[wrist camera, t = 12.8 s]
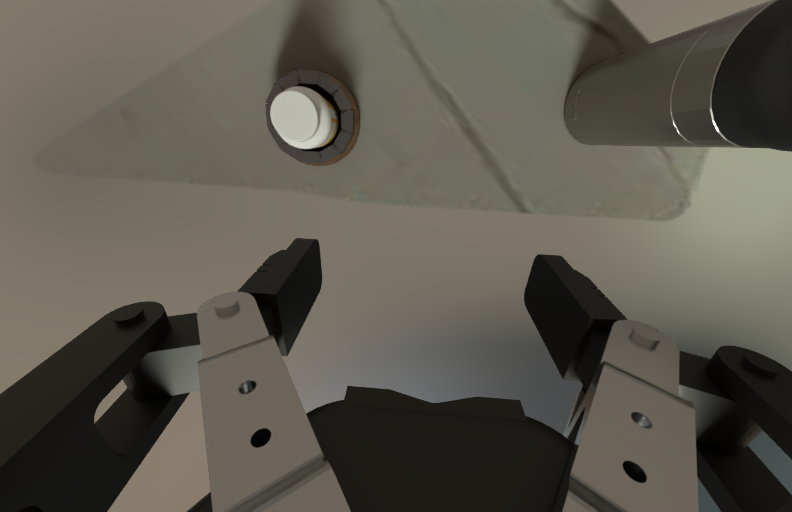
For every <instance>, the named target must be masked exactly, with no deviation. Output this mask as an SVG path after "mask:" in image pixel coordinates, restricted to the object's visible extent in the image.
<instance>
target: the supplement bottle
mask: <svg viewBox="0 0 792 512" xmlns="http://www.w3.org/2000/svg"><path fill="white" fill-rule="evenodd" d="M270 116H271V121H272V124H273V126H274V128H275V129H276V131H277V132H278V134H279V135H280V136H281V138H282V139H283V140H284V141H285V142H287V143H288V144H290V145H291V146H293V147H296V148H300V149H312V148H318V147H323V146H326V145H328V144H330V143H331V142H332V141H333V140H334V139H335V137H336V136H337V134H338V131H339V117H338V114H337V112H336V110H335V108H334V107H333V105H332V104H331V103H330V102H329V101H327V100H326V99H325V98H323V97H322V96H321V95H320V94H318V93H317V92H315V91H313V90H312V89H309V88H307V87H302V86H295V87H290V88H288V89H286V90H284V91H283V92H281V93H280V94H278V95H277V96H276V97H275V99H274V100H273V102H272V105H271V109H270Z"/></svg>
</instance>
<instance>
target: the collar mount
mask: <svg viewBox="0 0 792 512" xmlns="http://www.w3.org/2000/svg"><path fill="white" fill-rule="evenodd" d="M276 81H277V82H278V83H276V82H275V83H274V86H273V88H272V90H271V92H270V94H269V96H268V99H267V101H266V103H268V104H266V115H267V127H269V129H268V130H269V131H270V133H271V135H272V136H273V138H274V139H275V141H276V143H277V144H278V146H279V148H280V149H282V151H284V152H285V153H287V154H288V155H290V156H292V157H293V158H295V159H296V160H298V161H300V162H303V163H305V164H309V165H313V166H326V165H330V164H333V163H336V162H338V161H340V160H341V159H343V158H344V157H345V156H347V155H348V154H349V152H350V151H351V150H352V149H353V147H354V145H355V143H356V141H357V138H358V135H359V130H360V117H359V111H358V108H357V105H356V102H355V100H354V98H353V97H352V95H351V93H350V92H349V90H348V89H347V88H346V87H345V86H344V85H343V83H341V82H340V81H339V80H338V79H336V78H335V77H333V76H332V75H329V74H327V73H324V72H321V71H316V70H303V69H297V71H296V70H293V71H292V72H290V73H288V74H287V75H285V76H283V77H281V78H280V79H278V80H276ZM295 86H302V87H307V88H309V89H312V90H313V91H315V92H317V93H318V94H320V95H321V96H322V97H323V98H325V99H326V100H327V101H329V102H330V103H331V104H332V105H333V107H334V108H335V110H336V112H337V114H338V117H339V131H338V134H337V136H336V137H335V139H334V140H333V141H332V142H331V143H330V144H328V145H326V146H323V147H318V148H312V149H300V148H296V147H293V146H291V145H290V144H288V143H287V142H285V141H284V140H283V139H282V138H281V136H280V135H279V134H278V132H277V131H276V129H275V128H274V126H273V124H272V121H271V116H270V109H271V105H272V102H273V100H274V99H275V97H276V96H277V95H278V94H280V93H281V92H283V91H284V90H286V89H288V88H290V87H295Z"/></svg>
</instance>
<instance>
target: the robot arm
mask: <svg viewBox="0 0 792 512" xmlns="http://www.w3.org/2000/svg"><path fill="white" fill-rule="evenodd" d="M564 113H565V122H566V126H567V128H568V130H569V132H570V134H571V135H572V136H573V137H574V138H575V139H576V140H578V141H579V142H581V143H584V144H587V145H614V146H669V147H737V148H771V149H776V150H781V151H792V0H771V1H768V2H765V3H763V4H760V5H757V6H754V7H751V8H749V9H746V10H743V11H740V12H737V13H735V14H732V15H730V16H727V17H724V18H722V19H718V20H716V21H713V22H710V23H707V24H704V25H702V26H699V27H696V28H693V29H691V30H688V31H685V32H682V33H679V34H677V35H674V36H671V37H668V38H666V39H663V40H660V41H657V42H654V43H651V44H649V45H646V46H643V47H640V48H637V49H635V50H632V51H629V52H626V53H623V54H620V55H618V56H615V57H612V58H609V59H607V60H604V61H601V62H599V63H596V64H594V65H592V66H591V67H589V68H588V69H586V70H585V71H584V72H583V73H582V74H581V75H580V76H579V77H578V78H577V79H576V81H575V82H574V83H573V85H572V87H571V89H570V91H569V93H568V96H567V99H566V103H565V110H564ZM321 285H322V269H321V259H320V247H319V242H318V240H317V239H302V238H296V239H295V240H294V241H293V242H292V244H291V245H290V246H289V247H288V248H287V250H281V251H279V252H277V253H275V254H273V255H271V256H270V257H269V258H268V259H267V260H266V261H265V262H264V263H263V266H260V267H259V268H258V270H257V272H255V273H254V274H253V275H252V276H251V277H250V278H249V279H248V280H247V282H246V283H245V284H244V285H243V286H242V287H241V288H240V289H239V290H238V291H237V292H230V293H224V294H221V295H218V296H215V297H213V298H211V299H209V300H208V301H206V302H205V303H204V304H203V305H201V306H200V308H199V309H198V311H197V313H192V314H184V315H176V316H170V317H168V316H167V314H166V312H165V309H164V307H163V305H161V304H160V303H157V302H139V303H134V304H130V305H127V306H124V307H121V308H118V309H116V310H114V311H112V312H110V313H108V314H107V315H105V316H104V317H102V318H101V319H100V320H98V321H97V322H96V323H94V324H93V325H92V326H90V327H89V328H88V329H86V330H85V331H84V332H82V333H81V334H80V335H78V336H77V337H76V338H74V339H73V340H72V341H70V342H69V343H68V344H66V345H65V346H64V347H62V348H61V349H60V350H58V351H57V352H56V353H54V354H53V355H52V356H50V357H49V358H48V359H47V360H45V361H44V362H43V363H41V364H40V365H39V366H37V367H36V368H35V369H33V370H32V371H31V372H29V373H28V374H27V375H25V376H24V377H23V378H21V379H20V380H19V381H17V382H16V383H15V384H14V385H12V386H11V387H9V388H8V389H7V390H5V391H4V392H3V393H1V394H0V512H107V511H108V510H109V508H110V507H111V505H112V504H113V503H114V501H115V500H116V498H117V497H118V495H119V494H120V492H121V491H122V489H123V488H124V487H125V485H126V484H127V482H128V481H129V480H130V478H131V477H132V475H133V474H134V472H135V471H136V469H137V468H138V466H139V465H140V464H141V462H142V461H143V459H144V458H145V457H146V455H147V454H148V452H149V451H150V449H151V448H152V446H153V445H154V444H155V442H156V441H157V439H158V438H159V436H160V435H161V434H162V432H163V431H164V429H165V428H166V426H167V425H168V424H169V422H170V421H171V419H172V418H173V416H174V415H175V413H176V412H177V411H178V409H179V408H180V406H181V405H182V403H183V402H184V401H185V399H186V397H187V396H188V395H189V393H190V392H194V391H199V390H200V392H201V403H202V413H203V422H204V432H205V440H206V451H207V460H208V470H209V480H210V489H211V492H210V493H209V494H207V495H206V496H205V497H204V498H202V499H201V500H200V501H199V502H198V503H196V504H195V505H194V506H193V507H192V508H191V509H189V510H188V511H187V512H699V511H698V487H697V477H698V478H699V479H700V481H701V482H702V484H703V485H704V487H705V488H706V490H707V491H708V493H709V494H710V496H711V497H712V498H713V500H714V501H715V503H716V504H717V506H718V507H719V509H720V510H721V512H792V495H791V494H790V493H789V492H788V491H787V489H786V488H785V487H784V486H783V485H782V484H781V483H780V482H779V481H778V479H777V478H776V477H775V476H774V475H773V474H772V472H771V471H770V470H769V469H768V468H767V467H766V466H765V465H764V464H763V462H762V461H761V460H760V459H759V458H758V457H757V456H756V454H755V453H754V452H753V451H752V450H751V449H750V448H749V447H748V445H749V444H750V443H751V442H752V441H753V440H754V439H755V438H756V437H757V436H758V435H759V434H760V433H761V432H763V431H764V432H766V434H767V435H768V436H769V437H770V438H771V439H772V440H773V441H774V442H775V443H776V444H777V445H778V446H779V447H780V448H781V449H782V450H783V451H784V452H785V453H786V454H787V455H788V456H789V457H790V458H791V459H792V372H791V371H790V370H789V369H787V368H785V367H784V366H783V365H781V364H779V363H778V362H776V361H774V360H772V359H770V358H768V357H766V356H764V355H762V354H759V353H757V352H754V351H751V350H748V349H745V348H741V347H736V346H722V347H720V348H719V349H718V350H717V351H716V353H715V354H714V355H713V356H712V358H711V359H708V358H704V357H701V356H697V355H693V354H689V353H685V352H682V351H679V348H678V346H677V345H676V343H675V342H674V341H673V340H672V339H671V338H670V337H668V336H667V335H666V334H664V333H663V332H661V331H659V330H658V329H656V328H654V327H651V326H649V325H647V324H644V323H641V322H637V321H632V320H627V319H626V317H625V316H624V315H623V314H622V313H621V312H620V311H619V310H618V309H617V308H616V307H615V306H614V305H613V304H612V303H611V301H610V300H608V298H607V297H605V295H604V294H603V293H602V292H601V291H600V290H598V289H597V287H596V286H595V285H594V283H593V282H592V281H591V280H590V279H589V278H587V277H586V276H584V275H582V274H581V273H579V272H578V271H576V270H574V269H573V268H572V267H571V266H570V265H569V264H568V263H567V262H566V260H565V259H564V258H563V257H562V256H556V255H541V254H540V255H537V256H536V257H535V259H534V262H533V265H532V268H531V272H530V275H529V278H528V282H527V286H526V289H525V293H524V302H525V306H526V308H527V310H528V312H529V314H530V316H531V318H532V320H533V322H534V324H535V326H536V328H537V330H538V331H539V333H540V336H541V337H542V339H543V341H544V343H545V345H546V347H547V349H548V351H549V353H550V355H551V357H552V359H553V361H554V363H555V364H556V366H557V369H558V371H559V373H560V374H561V376H562V378H563V379H565V380H577V381H581V383H582V384H583V385H582V387H581V390H580V391H579V394H578V396H577V399H576V402H575V404H574V407H573V410H572V413H571V415H570V418H569V421H568V423H567V426H566V429H565V432H564V434H563V435H562V434H560V433H559V432H557V431H556V430H554V429H553V428H551V427H549V426H547V425H545V424H543V423H542V422H539V421H537V420H534V419H532V418H530V417H527V416H525V414H524V411H523V408H522V405H521V402H520V400H510V399H498V398H486V397H472V398H466V399H460V400H454V401H448V402H441V403H430V402H426V401H423V400H420V399H417V398H414V397H411V396H408V395H405V394H402V393H399V392H396V391H393V390H389V389H378V388H377V389H376V388H366V387H353V386H348V387H347V391H346V395H345V399H344V400H341V401H336V402H332V403H329V404H326V405H323V406H321V407H318V408H316V409H314V410H312V411H310V412H308V413H307V414H306V413H305V410H304V408H303V406H302V403H301V401H300V398H299V396H298V394H297V391H296V389H295V386H294V384H293V382H292V379H291V377H290V375H289V372H288V370H287V367H286V365H285V363H284V360H283V358H282V356H288V354H289V352H290V350H291V348H292V346H293V344H294V342H295V340H296V338H297V336H298V334H299V332H300V330H301V328H302V326H303V324H304V322H305V320H306V318H307V316H308V314H309V312H310V310H311V308H312V306H313V304H314V302H315V300H316V298H317V296H318V294H319V292H320V289H321ZM122 379H123V380H124V383H125V384H126V386H127V389H126V390H125V391H124V393H123V394H122V395H121V396H120V397H119V398H118V399H117V400H116V401H115V402H114V403H113V405H112V406H111V407H110V408H109V409H108V410H107V411H106V412H105V413H104V414H103V415H102V417H100V419H99V420H98V421H97V422H96V423H95V424H94V415H95V412H96V409H97V407H98V405H99V404H100V402H101V401H102V400H103V399H104V398H105V397H106V396H107V395H108V393H109V392H110V391H111V390H112V389H113V388H114V387H115V386H116V385H117V384H118V383H119V382H120V381H121V380H122Z"/></svg>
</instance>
